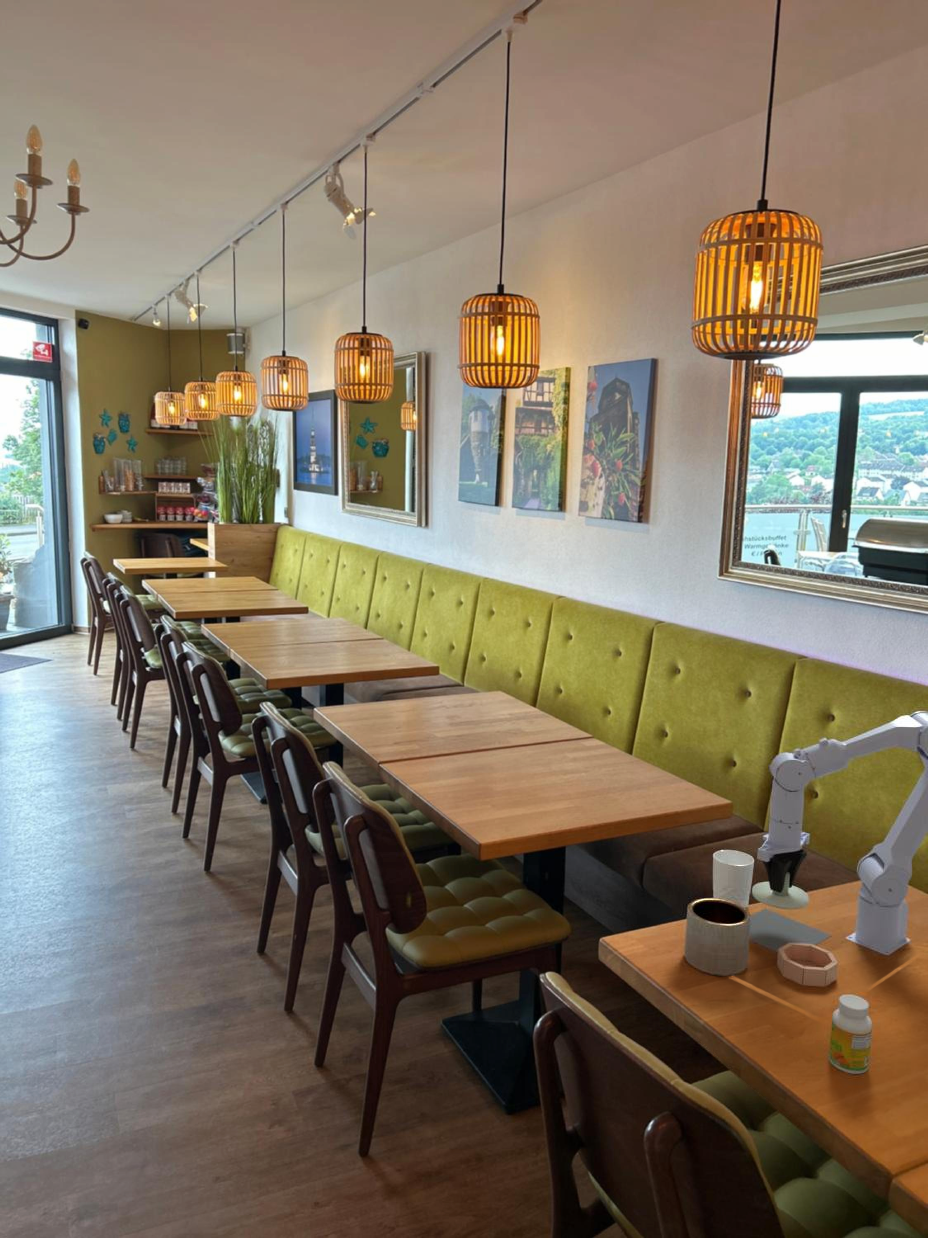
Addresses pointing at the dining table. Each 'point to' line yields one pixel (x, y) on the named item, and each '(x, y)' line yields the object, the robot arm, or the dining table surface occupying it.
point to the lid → (781, 895)
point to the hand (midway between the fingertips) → (781, 888)
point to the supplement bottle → (851, 1035)
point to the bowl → (807, 964)
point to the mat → (781, 931)
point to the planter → (717, 936)
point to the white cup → (732, 876)
